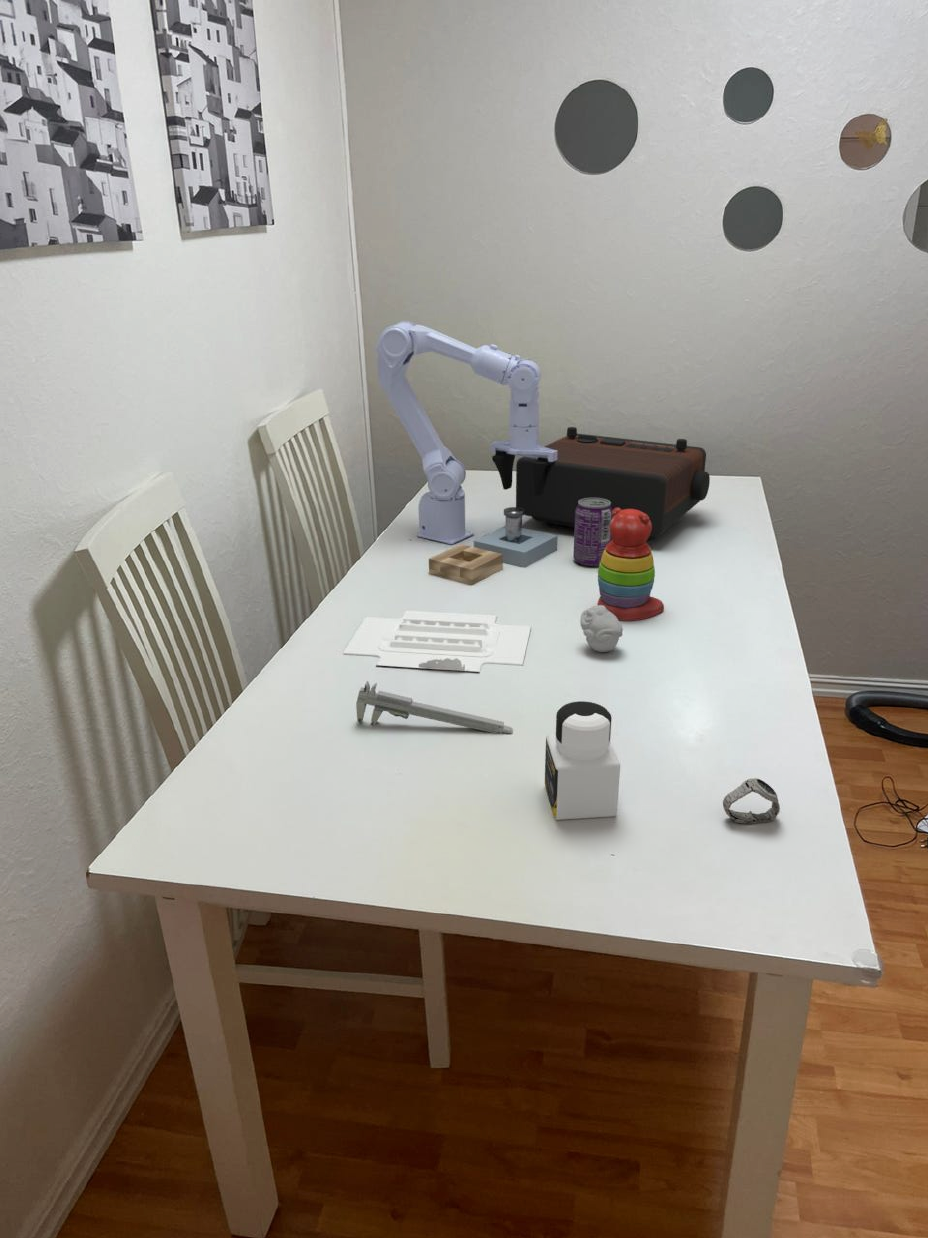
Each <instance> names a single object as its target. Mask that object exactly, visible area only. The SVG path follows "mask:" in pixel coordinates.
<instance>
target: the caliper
mask: <svg viewBox="0 0 928 1238" xmlns="http://www.w3.org/2000/svg"><path fill="white" fill-rule="evenodd" d="M377 684H378V683H377V682H375V683H374V684H373V685H372V686H371V685H370V682H369V681H368V680H367V681H366V683H365V684H364V687H360V689H359V691H358V695H357V699H356V705H355V706H356V721H357V723H358V724H362V723H363V721H364V716H365V712H366V708H367V705H368V706H372V707H374V708H373V711H372V715H371V719H370V720H371V723H370V725H371V726H375V725H376V723H377V722H378V720H379V718H380V717H381V715H382V714H383V712H388V713H389V714H390V715H393V716H395V717H401V718H402V719H405V720H407V719H409V716H410V715H411V716H416V717H420V718H424V719H430V720H433V721H437V722H438V721H439V722H443V723H448V724H451V725H455V726H461V727H464V728H468V729H473V730H478V731H482V732H486V733H490V734H491V733H492V734H502V733H505V734H508V735H512V734H513V732H514V728H512V727H511V726H508V725H505V724H504V723H505V722H504V721H502V720H498V719H497V720H496V719H493V718H489V717H483V716H480V715H475V714H471V713H467V712H461V711H457V710H453V709H448V708H443V707H439V706H436V705H430V704H426V703H422V702H418V701H414V700H413V697H408V696H403V695H400V694H395V693H391V692H387V691H383V690H379V691H377V692H376V689H377Z"/></svg>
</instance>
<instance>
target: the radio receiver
mask: <svg viewBox="0 0 928 1238" xmlns="http://www.w3.org/2000/svg"><path fill="white" fill-rule="evenodd" d="M566 429H567V430H566V436H564V437H562V438H559V439H557V440H555V441H552V442H551V443H549V444H547V445H545V446H543V447H546V448H549V449H553V450H557V460H556V461H555V464H554V466H553V467H552V469H551V471H550V473H549V475H548V478H547V480H546V484H545V487H544V491H543V494H541V495H539V496H536V495H535V492H534V472H533V468H532V462H534V461H537V460H538V459H537V458H531V457H525V456H520V458H518V459H517V461H516V465H515V467H516V469H515V473H516V474H515V475H516V476H515V507H518V508H522V509H524V515H523V516H526V517H527V516H528V517H531V518H532V519H533V520H534V521H536V522H540V523H545V524H547V525H551V524H553V525H558V526H565V527H571V528H575V510H576V508H577V506H578V501H579V500H581V499H584V498H603V499H607V500H609V501H610V502H611V505H610V506H611V508H612V511H613V510H614V509H615V508H620V509H622V510H624V509H635V510H639V511H641V512H643V513H645V514H647V515H648V517H649V520H650V521H651V524H652V530H651V533H650V536H649V537H648V539H647V540H646V541H649V540H650V541H651V540H654V539H656V538H657V537H659V536H660V535H662V534H663V533H664V532H665V531H666V530H667V529H669V528H670V527H671V526H672V525H673V524H675V523H676V522H677V521H678V520H679V519H681V518H682V517H683V516H684V515H685V514H687V512H689V511H690V510H691V509H693V507H695V506H696V505H697V504H698V503H700V502H701V501H704V500H705V499H706V498H707V495H708V492H709V489H710V478H711V477H710V474H709V472H707V471H705V470H706V460H707V452H706V450H705V449H704V448H702V447H701V446H700V447H699V446H693V445H688V440H687V439H685V438H678V439H677V440H676V442H675V444H674V443H665V442H656V441H647V440H639V439H638V440H637V439H629V438H622V437H612V436H611V437H610V436H602V435H593V434H586V433H585V434H584V433H578V429H577V427H576V426H575V427H574V426H568V427H567V428H566Z"/></svg>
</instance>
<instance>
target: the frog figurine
mask: <svg viewBox="0 0 928 1238" xmlns="http://www.w3.org/2000/svg"><path fill="white" fill-rule="evenodd" d="M597 605H598V604H597ZM597 605H596V606H592V607H590V608H587V609H585V610H583V611H582V612H581V614H580V619H579V620H580V621H579V623H580V627H581V630H582V632H583V635H584V636H585V637H586V638H585V641H586V642H587V644H588V646H589V647H590V648H591V649H592V650H594V651H596V652H599V653H606V652H610V651H612V650H613V649H614V648H616V646H617V645H618V643H619V640H620V638H622V636H623V630H624V628H623V625H622V623H621V622H620V620H618V619H617V617H616V616H615V615H614V614H612V613H611V612H609V611H608V610H607V609H606V607H605V606H603V605H598V606H597Z"/></svg>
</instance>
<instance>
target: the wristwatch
mask: <svg viewBox="0 0 928 1238" xmlns="http://www.w3.org/2000/svg"><path fill="white" fill-rule="evenodd" d="M751 793H756V794H758V795H760V797H762V798H764V799H765V800H767V801H770V802H771V808H770V807H769V809H768V810H767V811H766V812H760V813H755V812H752V811H751V810H750V811H749V812H741V811H735V810H732V809H731V806H732V804H734V803H736V802H738V800H740V799H742V798H744V797H745V796H747V795H748V794H751ZM722 807H723V810H724V812H725V813H726V815H727V816H728V817H729V818H730V820H732V821H733V823H734V822H735V823H736V824H741V825H748V826H749V825H756V824H766V823H768V824H769V823H771V822H773V821H774V820H775V819H776V818H777V816H778V815H779V814H780V810H781V809H780V807H781V806H780V803H779V798H778V794H777V792H776V791H775V790H774V788H772V786H771V785H769V783H767V782H765V781H764V780H762V779H761V778H756V777H755V778H748V779H747V780H745V781H743V782H742V783H741V784H740V785H739V786H737V787H736V788H735V789H734V790H732V791H730V792H729V793H727V794H726V796H724V797H723V800H722Z"/></svg>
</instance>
